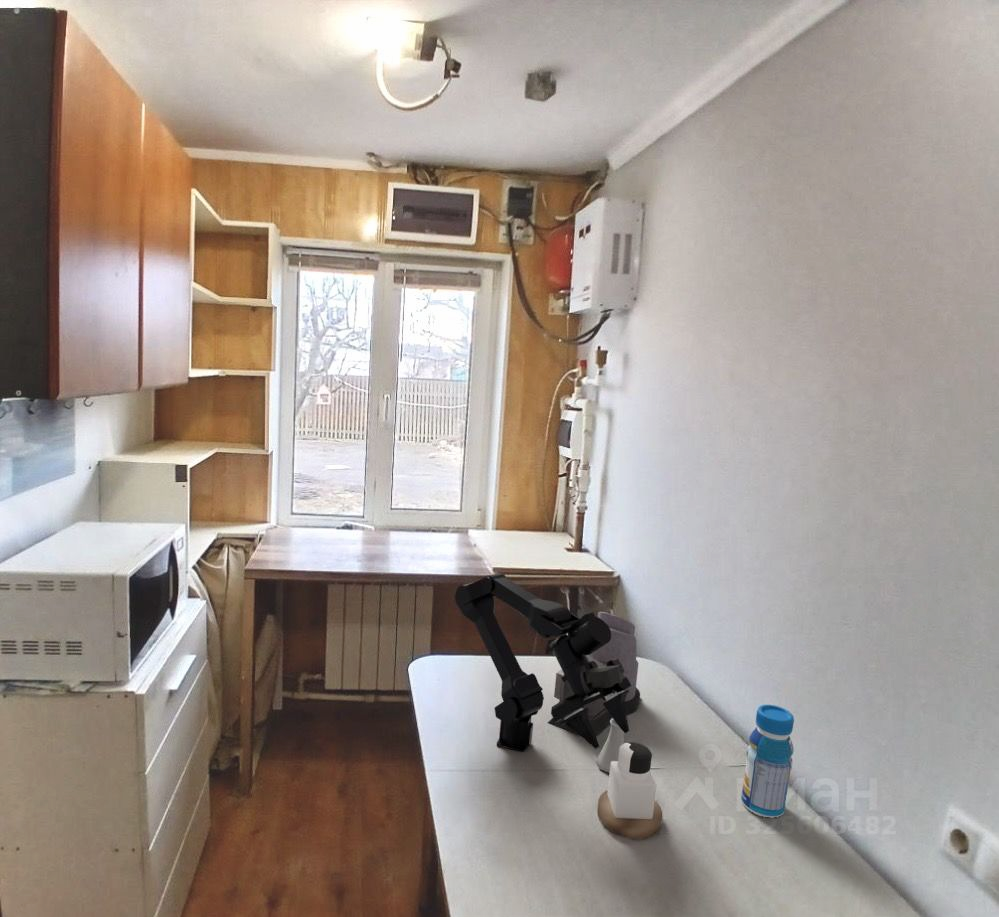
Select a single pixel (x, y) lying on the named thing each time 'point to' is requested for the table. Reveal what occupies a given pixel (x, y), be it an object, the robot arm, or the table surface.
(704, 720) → the table surface
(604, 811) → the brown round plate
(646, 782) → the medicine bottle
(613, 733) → the flask
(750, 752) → the beverage bottle
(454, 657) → the table surface
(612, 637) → the juicer
